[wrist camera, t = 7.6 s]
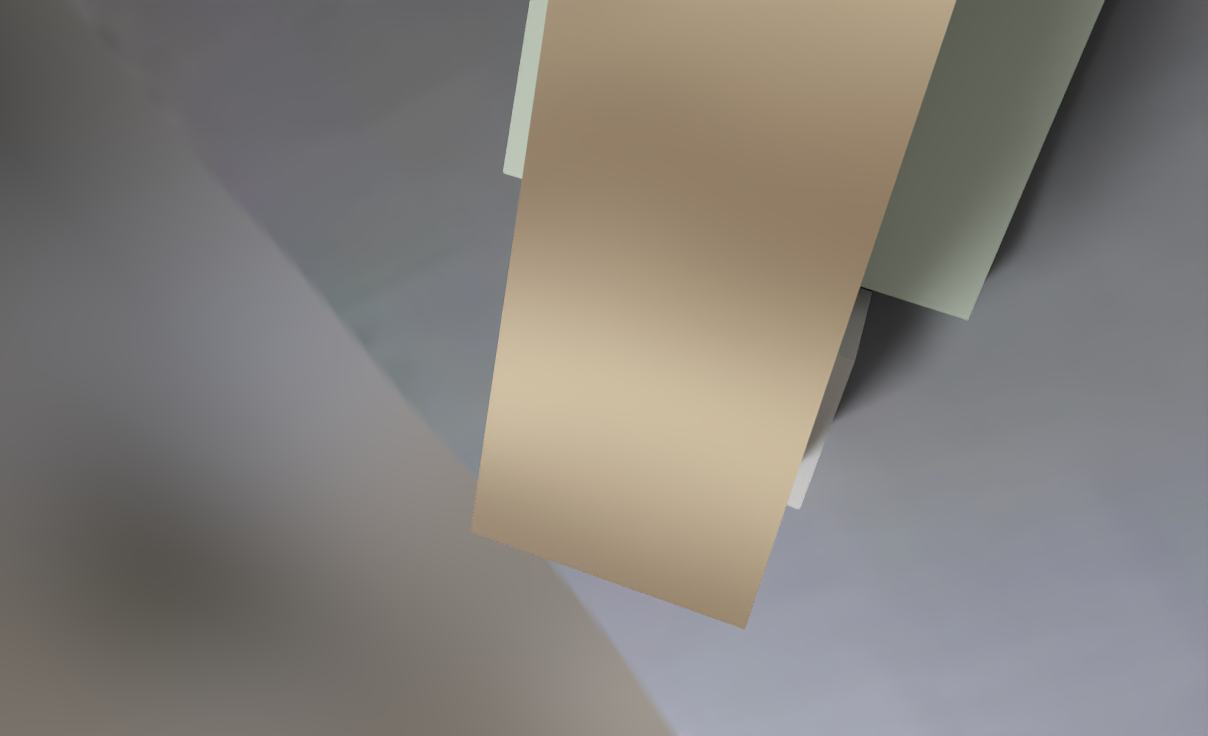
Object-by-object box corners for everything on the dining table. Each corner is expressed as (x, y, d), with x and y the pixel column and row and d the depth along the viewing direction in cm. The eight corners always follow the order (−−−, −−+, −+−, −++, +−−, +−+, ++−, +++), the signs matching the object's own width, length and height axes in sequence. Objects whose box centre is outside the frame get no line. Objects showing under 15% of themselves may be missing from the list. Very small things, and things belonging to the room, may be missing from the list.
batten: (727, -477, 13) (627, -542, 10) (1084, -409, 12) (1109, -455, 9) (564, 391, 19) (470, 531, 16) (793, 467, 19) (745, 629, 15)
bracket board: (900, 458, 21) (863, 690, 16) (496, 321, 22) (345, 496, 17) (1323, -543, 13) (1513, -702, 8) (660, -668, 14) (469, -873, 9)
